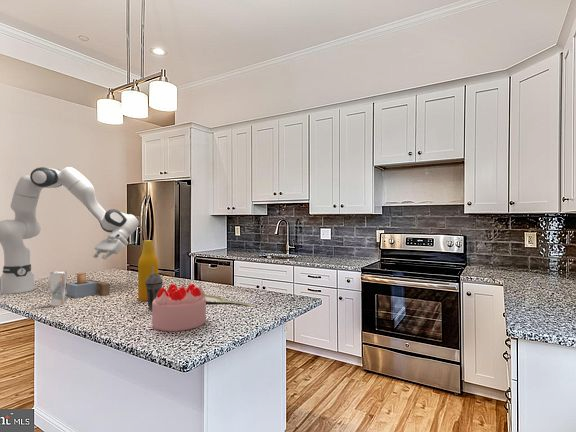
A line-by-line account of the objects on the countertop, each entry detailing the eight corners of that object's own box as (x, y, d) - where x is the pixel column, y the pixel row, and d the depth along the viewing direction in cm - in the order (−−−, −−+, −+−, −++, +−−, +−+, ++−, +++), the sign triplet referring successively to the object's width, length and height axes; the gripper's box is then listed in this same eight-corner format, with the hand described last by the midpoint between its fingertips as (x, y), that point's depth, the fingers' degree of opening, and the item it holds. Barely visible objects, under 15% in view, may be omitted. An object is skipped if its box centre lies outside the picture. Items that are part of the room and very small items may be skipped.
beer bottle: (158, 300, 168) (158, 240, 168) (137, 302, 165) (137, 241, 164) (158, 296, 176) (158, 239, 176) (138, 297, 173) (138, 240, 173)
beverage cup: (166, 307, 155) (166, 263, 155) (155, 311, 148) (155, 265, 148) (153, 305, 158) (153, 262, 157) (141, 310, 151) (141, 264, 151)
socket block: (66, 295, 177) (66, 283, 177) (87, 291, 186) (87, 280, 186) (76, 297, 172) (76, 285, 172) (96, 294, 180) (96, 282, 180)
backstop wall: (84, 291, 187) (84, 280, 187) (90, 290, 190) (90, 279, 190) (103, 296, 176) (103, 284, 176) (109, 295, 179) (109, 283, 179)
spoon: (263, 307, 162) (263, 303, 162) (252, 313, 152) (253, 309, 152) (200, 296, 174) (200, 292, 174) (187, 301, 165) (187, 297, 164)
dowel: (75, 292, 178) (75, 273, 178) (83, 291, 182) (83, 272, 181) (79, 293, 176) (79, 274, 176) (87, 292, 179) (87, 273, 179)
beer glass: (58, 307, 155) (58, 273, 155) (45, 306, 157) (45, 273, 157) (71, 303, 162) (71, 271, 162) (58, 302, 164) (58, 270, 164)
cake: (216, 320, 136) (216, 284, 136) (177, 336, 119) (177, 294, 119) (180, 313, 146) (180, 280, 146) (139, 326, 129) (139, 288, 129)
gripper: (102, 234, 198) (85, 253, 190) (122, 235, 186) (104, 255, 178) (110, 241, 202) (93, 260, 194) (130, 243, 190) (113, 263, 182)
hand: (98, 258), depth 186 cm, fingers open, 8 cm apart
